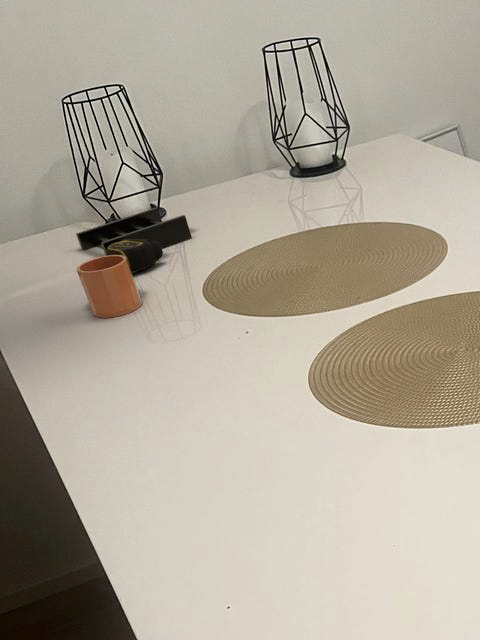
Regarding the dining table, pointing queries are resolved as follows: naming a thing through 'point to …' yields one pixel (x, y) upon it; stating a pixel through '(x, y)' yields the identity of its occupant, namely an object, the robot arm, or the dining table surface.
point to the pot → (109, 286)
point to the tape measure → (137, 252)
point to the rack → (137, 231)
